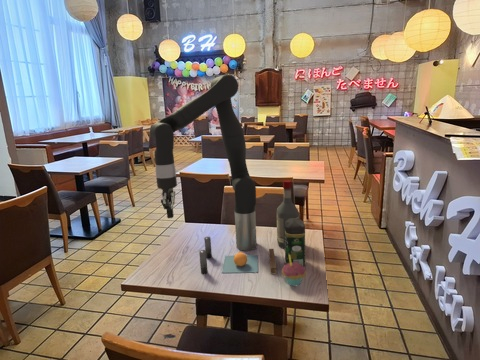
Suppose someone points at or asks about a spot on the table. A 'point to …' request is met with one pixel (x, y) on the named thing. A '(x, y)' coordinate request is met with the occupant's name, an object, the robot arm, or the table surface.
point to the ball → (240, 259)
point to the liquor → (285, 213)
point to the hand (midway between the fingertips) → (170, 217)
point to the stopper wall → (272, 261)
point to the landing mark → (247, 268)
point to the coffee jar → (295, 241)
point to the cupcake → (293, 272)
